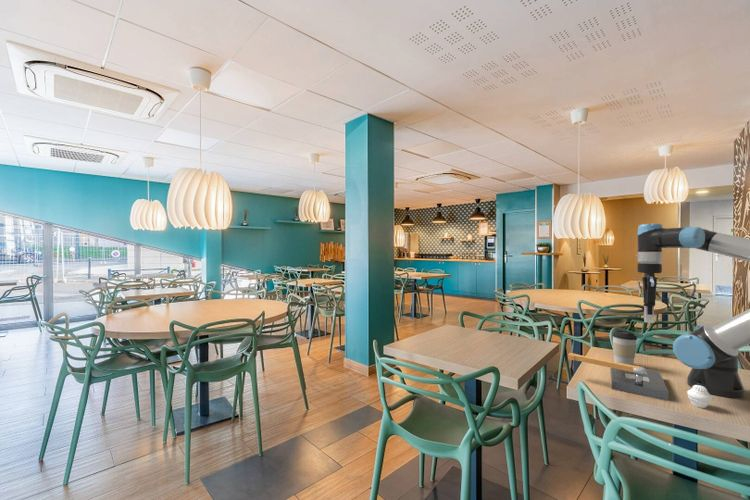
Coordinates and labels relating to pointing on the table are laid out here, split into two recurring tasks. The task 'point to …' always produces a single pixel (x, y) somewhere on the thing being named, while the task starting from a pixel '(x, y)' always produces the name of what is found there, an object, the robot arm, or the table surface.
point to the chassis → (640, 383)
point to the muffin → (699, 396)
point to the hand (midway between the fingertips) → (649, 322)
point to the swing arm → (607, 363)
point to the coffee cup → (624, 347)
